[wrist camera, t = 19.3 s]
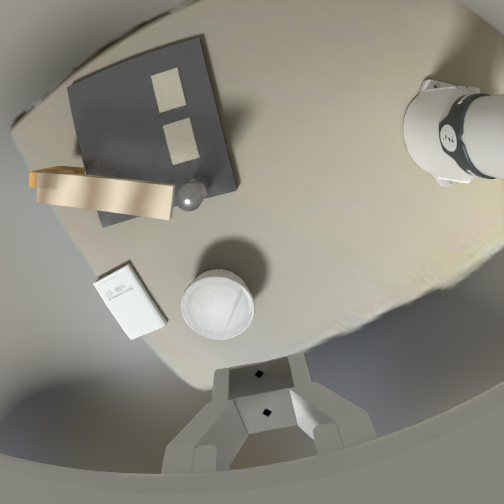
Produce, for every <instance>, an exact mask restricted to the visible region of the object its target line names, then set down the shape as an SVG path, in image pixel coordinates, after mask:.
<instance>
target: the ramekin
mask: <svg viewBox="0 0 504 504" xmlns="http://www.w3.org/2000/svg"><path fill="white" fill-rule="evenodd" d="M181 311H182V315H183V318H184V319H185V321H186V323H187V324H188V325H189V327H190V328H191V329H193V330H194V331H195V332H196V333H198V334H200V335H202V336H204V337H207V338H211V339H217V340H222V339H229V338H232V337H235V336H237V335H239V334H241V333H242V332H244V331H245V330H246V329H247V328H248V327H249V325H250V324H251V322H252V320H253V318H254V314H255V303H254V299H253V296H252V294H251V292H250V291H249V289H248V288H247V286H246V284H245V283H244V281H243V280H242V279H241V278H240V277H239V276H238V275H236V274H235V273H232V272H231V271H227V270H223V269H213V270H209V271H206V272H203V273H202V274H200V275H199V276H198V277H197V278H196V279H195V280H194V281H193V282H192V283H190V284H189V286H188V287H187V288H186V290H185V291H184V294H183V296H182V300H181Z"/></svg>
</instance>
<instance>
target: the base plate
mask: <svg viewBox="0 0 504 504" xmlns="http://www.w3.org/2000/svg"><path fill="white" fill-rule="evenodd" d="M67 90H68V96H69V101H70V106H71V111H72V116H73V121H74V126H75V130H76V135H77V139H78V143H79V147H80V151H81V155H82V159H83V163H84V167H85V171H86V174H87V175H95V176H105V177H115V178H124V179H133V180H142V181H150V182H158V183H166V184H174V185H176V187H175V195H174V204H173V207H175V206H179V207H180V208H181V209H182V210H185V211H193V210H195V209H197V208H198V207H199V206H200V204H201V203H202V201H203V199H205V198H209V197H213V196H217V195H221V194H225V193H229V192H233V191H237V187H236V183H235V179H234V175H233V171H232V167H231V163H230V159H229V155H228V151H227V147H226V143H225V139H224V135H223V131H222V127H221V123H220V119H219V115H218V111H217V107H216V102H215V98H214V94H213V90H212V86H211V82H210V78H209V74H208V70H207V66H206V62H205V58H204V54H203V50H202V46H201V42H200V39H199V38H195V39H192V40H188V41H185V42H181V43H178V44H174V45H171V46H168V47H165V48H162V49H159V50H156V51H153V52H150V53H147V54H144V55H141V56H138V57H136V58H133V59H130V60H128V61H125V62H123V63H120V64H118V65H115V66H113V67H110V68H108V69H106V70H103V71H101V72H99V73H96V74H94V75H92V76H90V77H88V78H85V79H83V80H81V81H79V82H77V83H75V84H73V85H71V86H69V87H67ZM97 212H98V215H99V218H100V221H101V224H102V227H106V226H110V225H113V224H116V223H119V222H123V221H126V220H129V219H133V218H136V217H140V216H136V215H128V214H121V213H114V212H106V211H99V210H97Z"/></svg>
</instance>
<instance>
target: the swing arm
mask: <svg viewBox="0 0 504 504" xmlns="http://www.w3.org/2000/svg"><path fill="white" fill-rule="evenodd" d="M29 187H36V188H37V203H45V204H53V205H61V206H68V207H76V208H84V209H91V210H99V211H106V212H114V213H121V214H128V215H136V216H143V217H150V218H157V219H164V220H170V219H171V218H172V212H173V204H174V195H175V187H176V185H174V184H166V183H158V182H150V181H142V180H133V179H124V178H115V177H105V176H95V175H85V168H80V167H67V166H55V167H51V168H46V169H41V170H36V171H32V172H30V173H29Z"/></svg>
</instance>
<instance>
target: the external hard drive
mask: <svg viewBox="0 0 504 504" xmlns="http://www.w3.org/2000/svg"><path fill="white" fill-rule="evenodd" d="M93 284H94V286H95V288H96V289H97V291H98V292H99V294H100V296H101V297H102V299H103V300H104V302H105V303H106V305H107V306H108V308H109V309H110V311H111V312H112V314H113V315H114V317H115V318H116V320H117V321H118V323H119V324H120V326H121V327H122V328H123V330H124V331H125V333H126V334H127V335H128V337H129V338H130V339H131V340H132V339H135V338H137V337H140V336H142V335H145V334H147V333H150V332H152V331H155V330H157V329H160V328H162V327H164V326H166V324H167V321H166V320H165V318H164V317H163V315H162V314H161V312H160V311H159V309H158V308H157V306H156V305H155V303H154V302H153V300H152V299H151V297H150V296H149V294H148V292H147V291H146V289H145V288H144V286H143V285H142V283H141V281H140V280H139V278H138V277H137V275H136V273H135V272H134V270H133V268H132V267H131V265H130V263H129V264H127V265H125V266H123V267H121V268H120V269H118V270H116V271H114V272H113V273H111V274H109V275H106V276H105V277H103V278H101V279H99V280H96V281H95V282H94V283H93Z"/></svg>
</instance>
